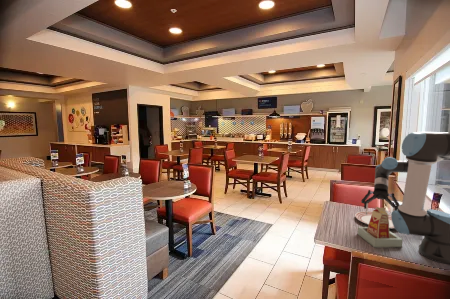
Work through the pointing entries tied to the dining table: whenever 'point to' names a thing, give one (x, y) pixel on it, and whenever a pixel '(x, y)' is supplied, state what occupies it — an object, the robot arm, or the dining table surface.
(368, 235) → the carton caddy
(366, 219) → the dinner plate
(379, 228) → the milk carton
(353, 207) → the dining table surface
